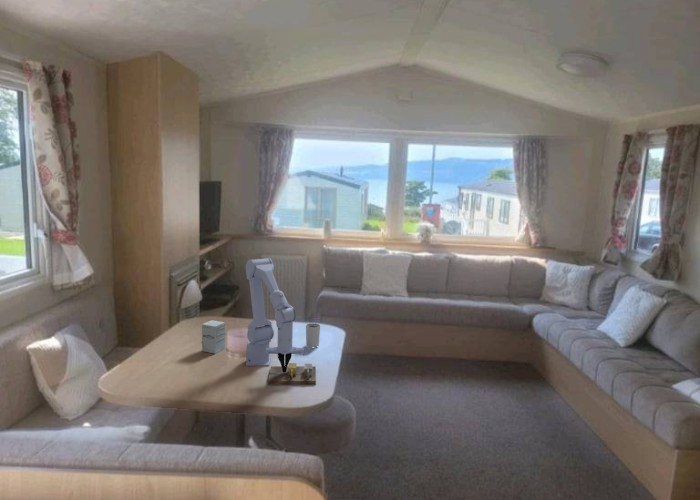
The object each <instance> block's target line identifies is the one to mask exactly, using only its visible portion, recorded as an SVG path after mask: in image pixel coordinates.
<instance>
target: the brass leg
mask: <svg viewBox="0 0 700 500" xmlns="http://www.w3.org/2000/svg"><path fill="white" fill-rule="evenodd" d="M296 366H297V362H289V363H288V375H291V379H293V375H296Z"/></svg>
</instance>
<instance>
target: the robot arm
mask: <svg viewBox="0 0 700 500" xmlns="http://www.w3.org/2000/svg"><path fill="white" fill-rule="evenodd" d="M274 267H275V265H274V262H273V260H272V258H271V257H267V258H256V259H248V260H247V261H246V264H245V274H246V280H248V281H249V282H248V283H249V289H250V290H249V291H250V300H251V309H252V318H253V320H251V321H250V322H249V324H248V325H247V333H246V335H247V339H248V342H246V351H245V352H246V353H245V354H246V357H245V362H246V363H245V365H246V367H247V366H252V367H253V366H254V367H255V366H260V367H261V366H262V367H263V366H266V367H267V366H270V364H271V360H272V359H271V357H270V355H271V354H272V355H277V359H278V361H279V363H280V366H282V371H283V372H286V370H287V366H289V363H290V361H291V359H292V355H304V352H305V351H304V349H305V348H304V347H295V346H293V334H294V333H293V328H294V322H295V320H296V319H297V312H296V309H295V307H293V306H292V305H291V304H289V302H288V300H287V298H286V296H285V293H284V291H282V290H280V289H279V286H278V283H277V280H276V279H275V278H276V277H275V276H274V275H275V274H274V271H275V270H274V269H275V268H274ZM263 283H264V284H265V287H266V288H267V290H268V291H269V294H270V295H269V301H270V303H271V304H272V305H271V306H272V307H273V310H274V312H275V314H274V319H275V322H276V324H275V325H276V327H277V346H273V347H270V342H272V340H273V338H274V336H275V331H274V328H273V324H272V321H271V320H269V319H267V316H266V309H265V299H264V289H263V288H264V287H263Z"/></svg>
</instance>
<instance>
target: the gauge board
mask: <svg viewBox="0 0 700 500" xmlns="http://www.w3.org/2000/svg"><path fill="white" fill-rule="evenodd" d="M288 366H289V365H288ZM288 366H287V370H286V372H283V371H282V366H281V365H280V366H272V365H271V366H270V368H269V369H270V370H269V375H268V380H267V385H268V386H287V385H288V386H289V385H291V386H294V385H295V386H296V385H297V386H299V385H300V386H302V385H303V386H310V385H311V386H312V385H313V386H316V385H317V375H316V373H317V371H316V366H313V363H304V365H303V366H298V365H296V375H293V379H291V375H288Z"/></svg>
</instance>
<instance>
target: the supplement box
mask: <svg viewBox="0 0 700 500" xmlns="http://www.w3.org/2000/svg"><path fill="white" fill-rule="evenodd" d="M225 349H226V322H224V321H218V320H213V319H211V320H209V321H206V322H203V323H202V324H201V351H202V352H206V353H210V354H214V355H216V354H218V353H220V352H222V351H224V350H225Z"/></svg>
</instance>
